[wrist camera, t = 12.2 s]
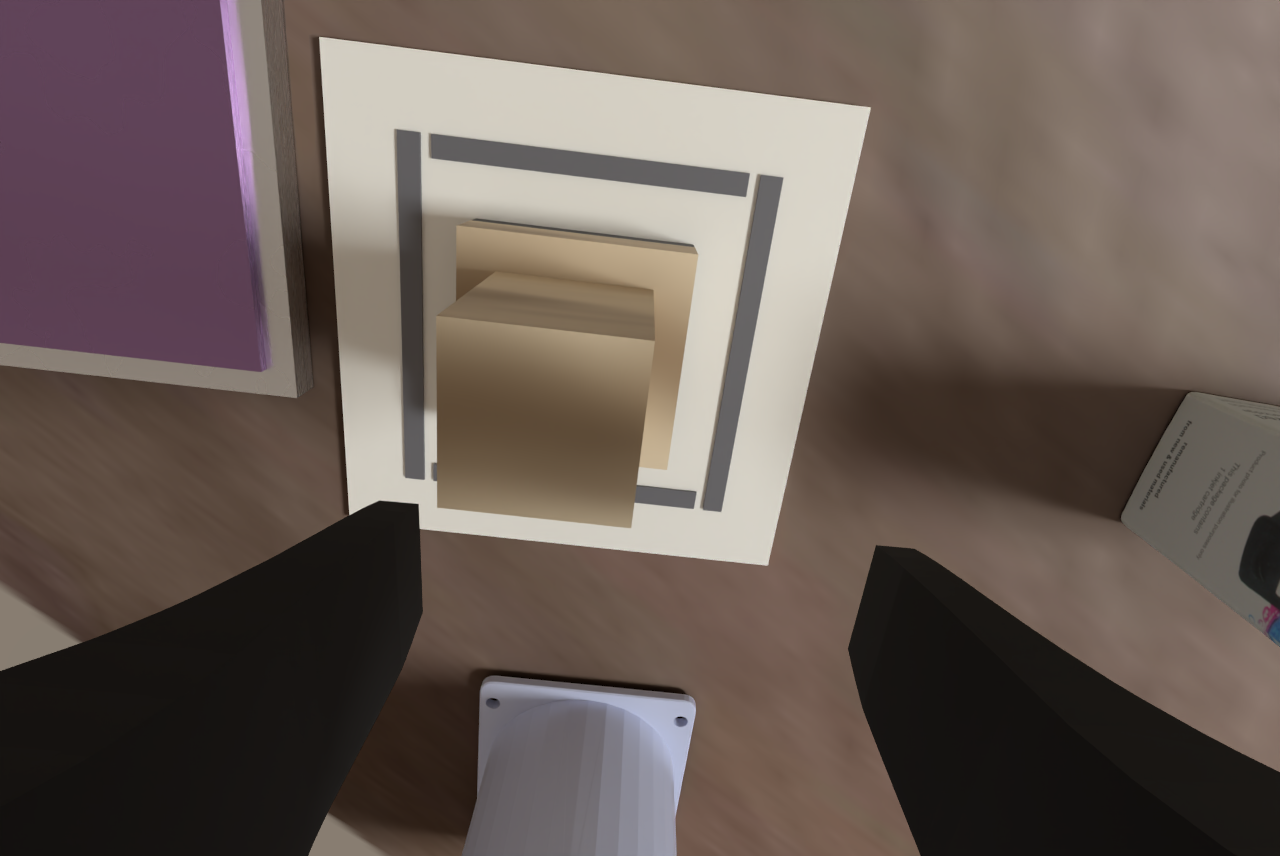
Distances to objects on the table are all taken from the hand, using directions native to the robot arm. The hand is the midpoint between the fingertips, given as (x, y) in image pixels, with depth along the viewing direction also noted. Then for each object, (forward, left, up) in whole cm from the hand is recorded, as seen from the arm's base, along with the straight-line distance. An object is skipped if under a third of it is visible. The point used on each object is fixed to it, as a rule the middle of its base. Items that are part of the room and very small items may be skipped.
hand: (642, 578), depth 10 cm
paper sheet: (+1, +2, -10) cm, 11 cm away
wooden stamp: (+1, +2, -10) cm, 10 cm away
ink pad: (+4, +15, -10) cm, 18 cm away
